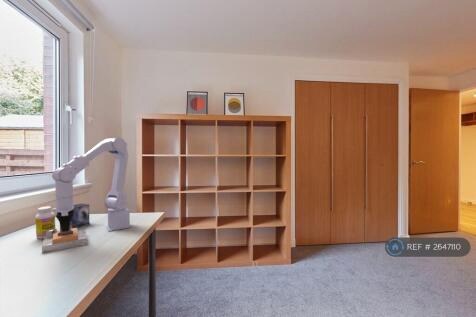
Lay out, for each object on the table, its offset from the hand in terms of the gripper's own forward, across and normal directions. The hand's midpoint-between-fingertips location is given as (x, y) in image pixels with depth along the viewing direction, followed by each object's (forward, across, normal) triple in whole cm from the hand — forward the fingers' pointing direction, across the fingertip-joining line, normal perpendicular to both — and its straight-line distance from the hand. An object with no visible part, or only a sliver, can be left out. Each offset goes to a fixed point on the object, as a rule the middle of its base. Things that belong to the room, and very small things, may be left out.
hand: (65, 229), depth 96 cm
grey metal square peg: (+4, 0, 0) cm, 4 cm away
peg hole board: (+5, 0, 0) cm, 5 cm away
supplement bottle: (+6, -15, -7) cm, 17 cm away
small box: (+6, -25, +4) cm, 26 cm away
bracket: (+3, -3, 0) cm, 4 cm away
